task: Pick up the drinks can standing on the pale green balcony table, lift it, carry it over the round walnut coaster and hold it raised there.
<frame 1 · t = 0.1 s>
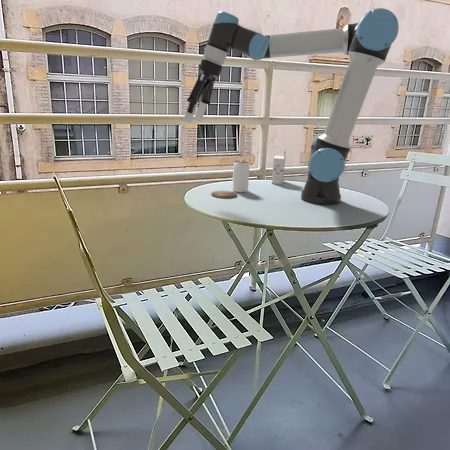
hand: (192, 120, 142), 28 cm above the table, tool tilted 20°, fingers open, 13 cm apart
can: (239, 191, 162), on the table
ink cartridge box: (277, 182, 181), on the table
coaster: (224, 195, 154), on the table
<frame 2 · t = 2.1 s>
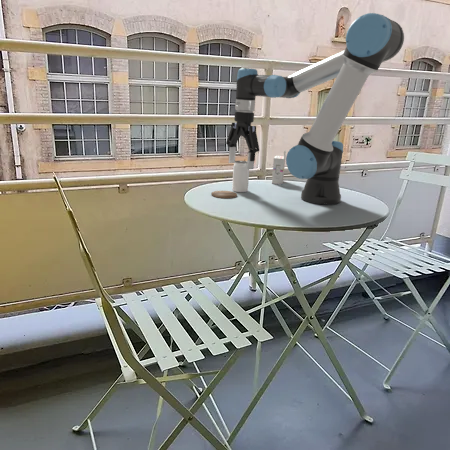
hand: (240, 165, 159), 10 cm above the table, tool pointing down, fingers open, 13 cm apart
nothing on the table moved.
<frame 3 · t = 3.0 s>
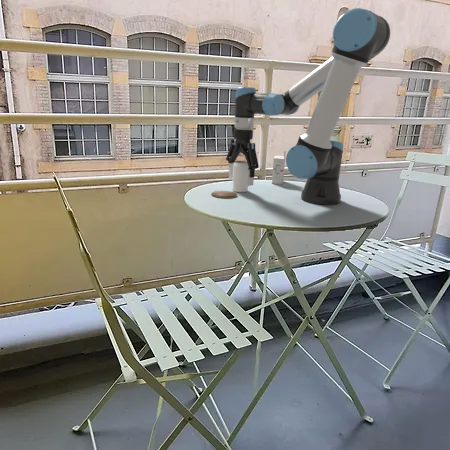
hand: (240, 181, 161), 4 cm above the table, tool pointing down, fingers open, 13 cm apart
nothing on the table moved.
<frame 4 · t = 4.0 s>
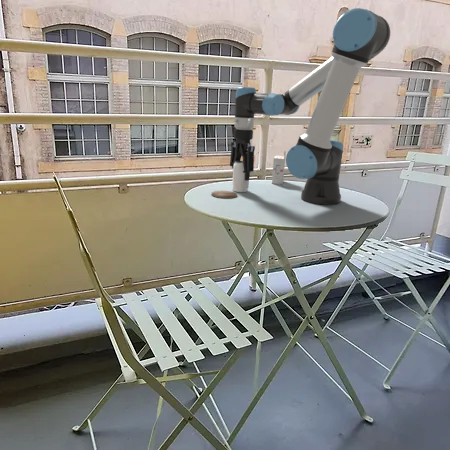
hand: (240, 186, 161), 2 cm above the table, tool pointing down, fingers closed on can, 6 cm apart
can: (239, 191, 162), on the table, touching gripper
everything else where it was.
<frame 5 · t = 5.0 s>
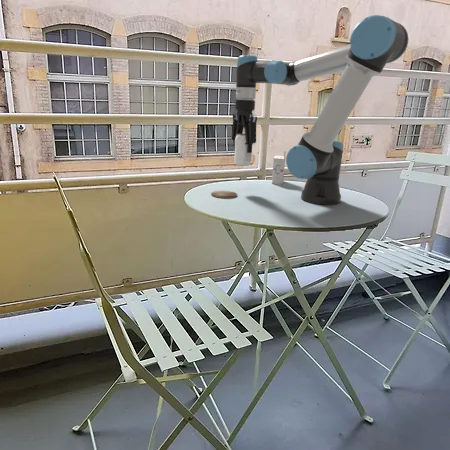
hand: (242, 159, 157), 13 cm above the table, tool pointing down, fingers closed on can, 6 cm apart
can: (242, 165, 158), point 11 cm above the table, touching gripper
everything else where it was.
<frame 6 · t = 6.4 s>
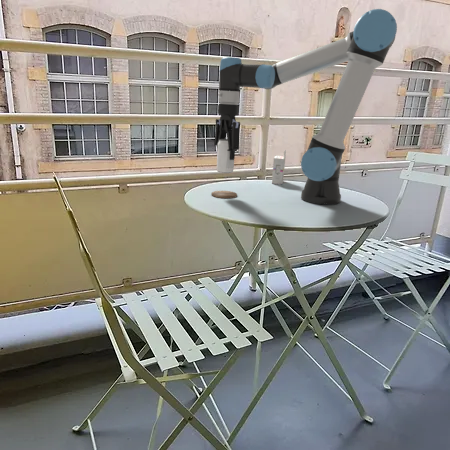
hand: (225, 166, 150), 11 cm above the table, tool pointing down, fingers closed on can, 6 cm apart
can: (224, 172, 151), point 9 cm above the table, touching gripper
everything else where it was.
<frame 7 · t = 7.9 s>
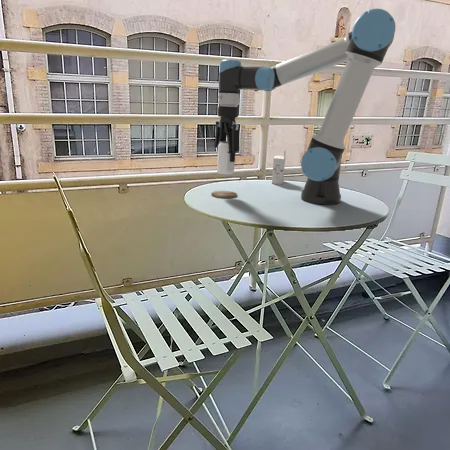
hand: (225, 168, 150), 10 cm above the table, tool pointing down, fingers closed on can, 6 cm apart
can: (225, 174, 151), point 8 cm above the table, touching gripper
everything else where it was.
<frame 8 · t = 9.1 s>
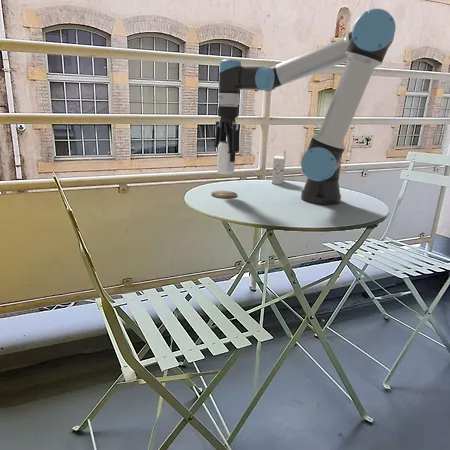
hand: (225, 168, 150), 10 cm above the table, tool pointing down, fingers closed on can, 6 cm apart
can: (225, 174, 151), point 8 cm above the table, touching gripper
everything else where it was.
at the end: the gripper is holding can; can point 8.3 cm above the table; can 0.1 cm from the coaster (horizontally) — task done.
